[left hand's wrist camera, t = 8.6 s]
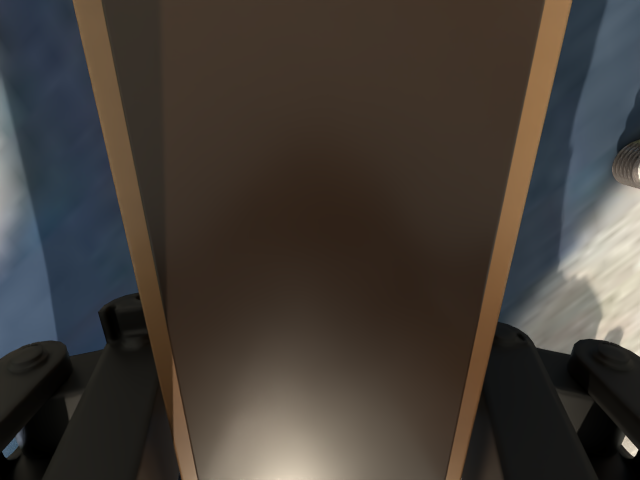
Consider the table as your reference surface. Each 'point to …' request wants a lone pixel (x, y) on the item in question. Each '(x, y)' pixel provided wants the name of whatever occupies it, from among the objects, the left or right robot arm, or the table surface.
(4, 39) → the table surface
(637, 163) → the light bulb
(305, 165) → the tray
